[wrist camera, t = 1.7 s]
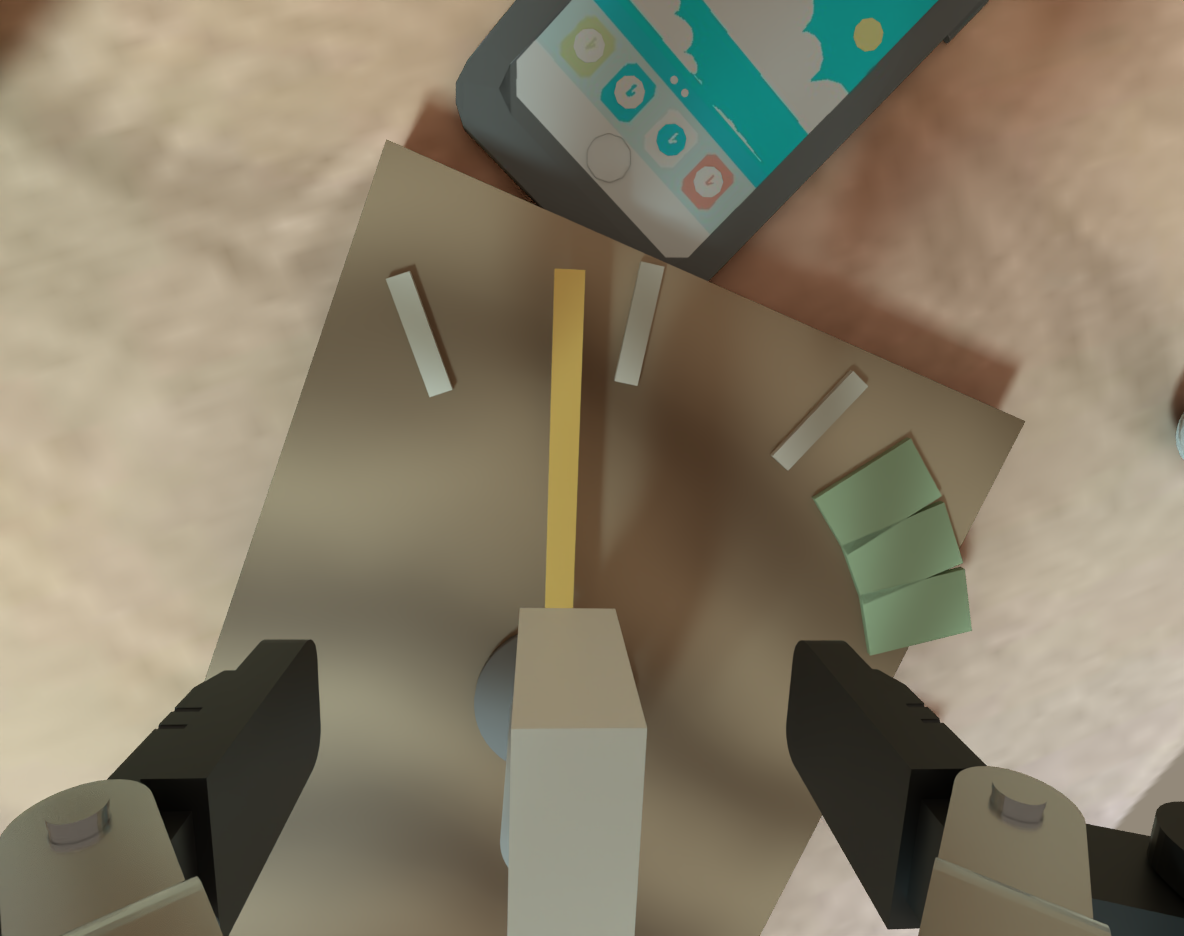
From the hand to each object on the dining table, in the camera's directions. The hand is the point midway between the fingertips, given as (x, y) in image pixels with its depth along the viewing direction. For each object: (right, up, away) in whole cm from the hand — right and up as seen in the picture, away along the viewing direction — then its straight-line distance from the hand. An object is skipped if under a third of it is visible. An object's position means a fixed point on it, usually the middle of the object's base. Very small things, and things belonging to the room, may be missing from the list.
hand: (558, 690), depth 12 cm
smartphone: (+5, +16, +7) cm, 18 cm away
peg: (0, 0, +7) cm, 7 cm away
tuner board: (+1, -3, +10) cm, 10 cm away
